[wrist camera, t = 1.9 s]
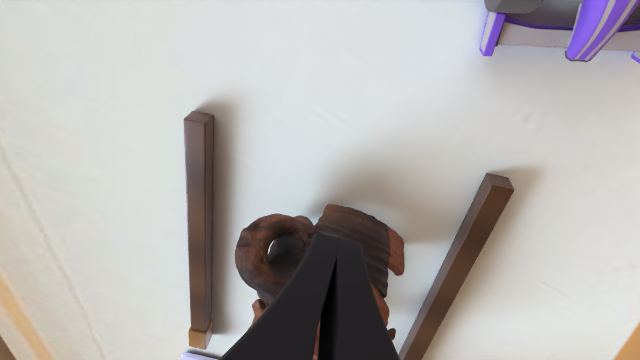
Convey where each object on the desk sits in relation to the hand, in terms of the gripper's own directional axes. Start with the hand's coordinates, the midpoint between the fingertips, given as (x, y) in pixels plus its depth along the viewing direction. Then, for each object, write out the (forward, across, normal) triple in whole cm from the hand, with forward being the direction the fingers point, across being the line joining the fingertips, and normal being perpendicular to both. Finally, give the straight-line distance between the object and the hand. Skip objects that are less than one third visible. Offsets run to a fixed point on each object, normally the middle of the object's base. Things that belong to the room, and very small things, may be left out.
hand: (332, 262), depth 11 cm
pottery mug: (+10, 0, +9) cm, 14 cm away
